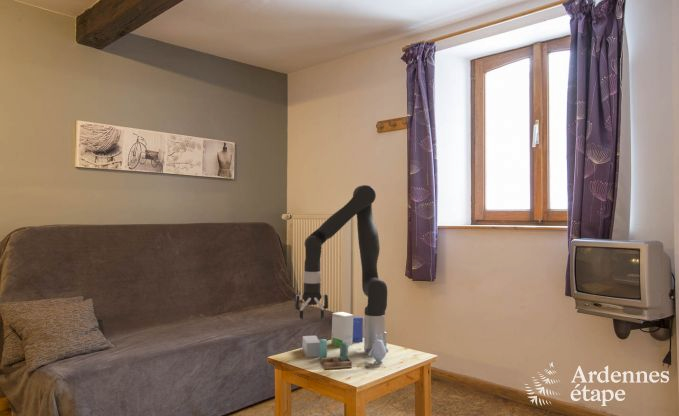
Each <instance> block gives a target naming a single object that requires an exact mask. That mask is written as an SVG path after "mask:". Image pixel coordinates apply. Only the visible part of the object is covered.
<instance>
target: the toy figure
mask: <svg viewBox="0 0 679 416" xmlns="http://www.w3.org/2000/svg"><path fill="white" fill-rule="evenodd" d="M381 339H382V334H380V337H379V339H378V336H377V335H376V336H375V342H374V343H373V346H372V349H371V351H370V352H369V354H367V355H368V357H371V356H372V358H373V359H374V360H375V361H373V364H374V365H378V364H382V363H383V360H384V358H385V357H386V355H387V354H388V353H389V349H388V347H387V346H386V347H385V346H384V344H383V342H382V340H381Z"/></svg>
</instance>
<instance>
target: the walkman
mask: <svg viewBox="0 0 679 416" xmlns="http://www.w3.org/2000/svg"><path fill="white" fill-rule="evenodd" d="M363 321H364V317H363V316H360V315H358V316H353V340H352V343H364V342H363V341H364V339H363V338H364V337H363V336H364V332H363V330H364V324H363V323H364V322H363Z"/></svg>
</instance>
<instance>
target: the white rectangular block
mask: <svg viewBox="0 0 679 416" xmlns="http://www.w3.org/2000/svg"><path fill="white" fill-rule="evenodd" d="M319 343H320V339H319V338H318V336H317V335H303V336H302V349H303V352H304V353H305V355H306V357H307V358H306V359H310V358H309V357H317V358H319Z"/></svg>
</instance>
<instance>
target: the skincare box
mask: <svg viewBox="0 0 679 416" xmlns="http://www.w3.org/2000/svg"><path fill="white" fill-rule="evenodd" d="M331 314H332V319H331V343H330V344H331V345H334V346H335V347H336V346H337V347H340V343H348V347H349V346H351V347H353V342H352V340H353V317H354V314H352V313H349V312H346V311H345V312H344V311H338V312H332V313H331Z"/></svg>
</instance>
